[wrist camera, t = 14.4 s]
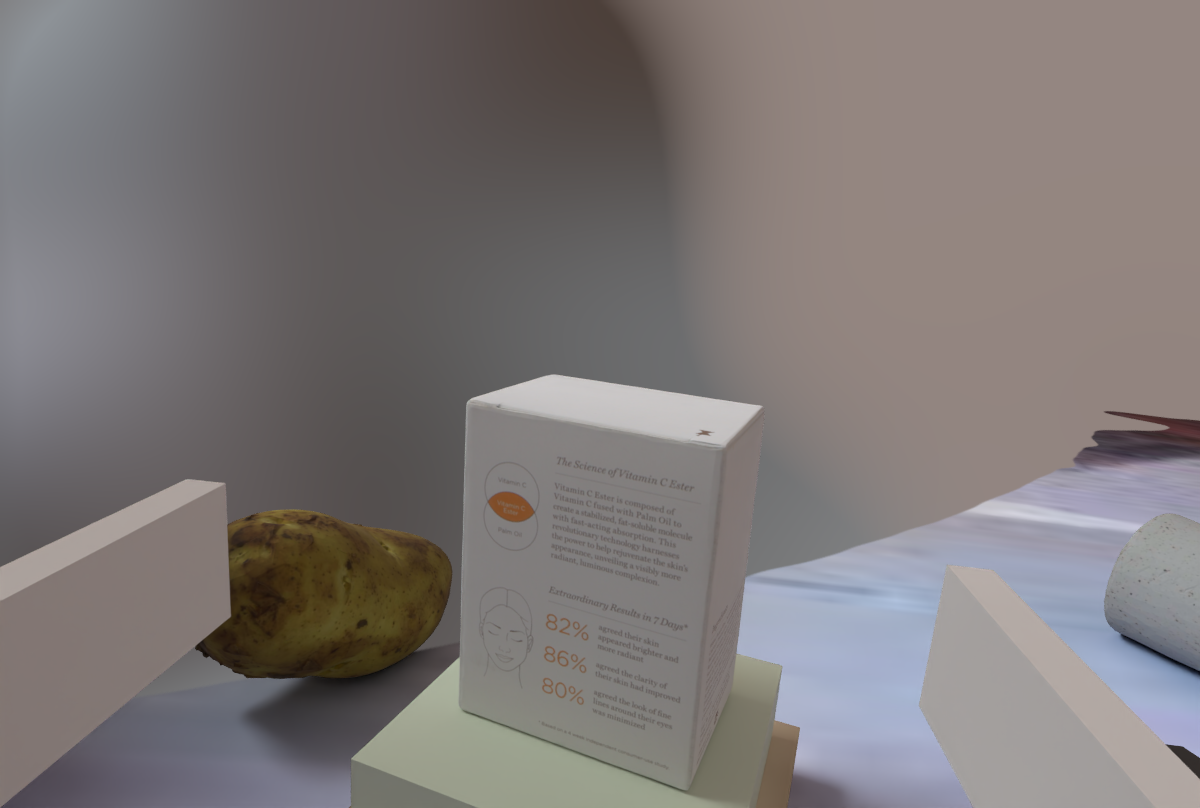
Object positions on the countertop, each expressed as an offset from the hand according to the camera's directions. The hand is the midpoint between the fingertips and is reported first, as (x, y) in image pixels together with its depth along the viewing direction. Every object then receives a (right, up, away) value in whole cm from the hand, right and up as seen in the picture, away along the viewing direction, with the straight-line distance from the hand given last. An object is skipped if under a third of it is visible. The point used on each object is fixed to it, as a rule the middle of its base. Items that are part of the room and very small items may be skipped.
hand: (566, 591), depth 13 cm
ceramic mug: (+35, -11, +28) cm, 46 cm away
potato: (-12, -9, +21) cm, 26 cm away
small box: (+1, -7, +11) cm, 13 cm away
